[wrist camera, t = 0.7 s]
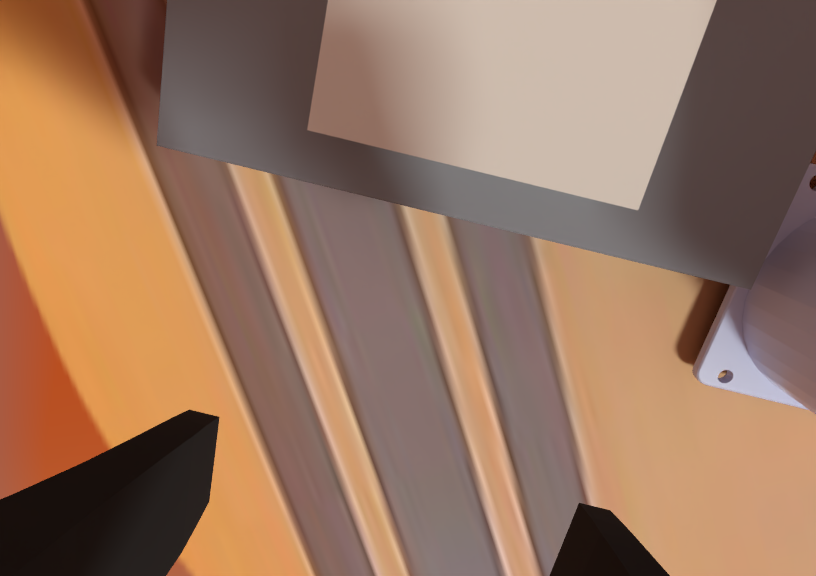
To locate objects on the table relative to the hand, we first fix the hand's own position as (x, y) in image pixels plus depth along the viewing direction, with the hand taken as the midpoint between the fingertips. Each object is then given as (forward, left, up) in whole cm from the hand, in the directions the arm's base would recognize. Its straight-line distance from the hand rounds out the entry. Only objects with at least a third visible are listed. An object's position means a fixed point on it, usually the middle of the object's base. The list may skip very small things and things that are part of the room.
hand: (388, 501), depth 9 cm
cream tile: (0, -9, -6) cm, 11 cm away
